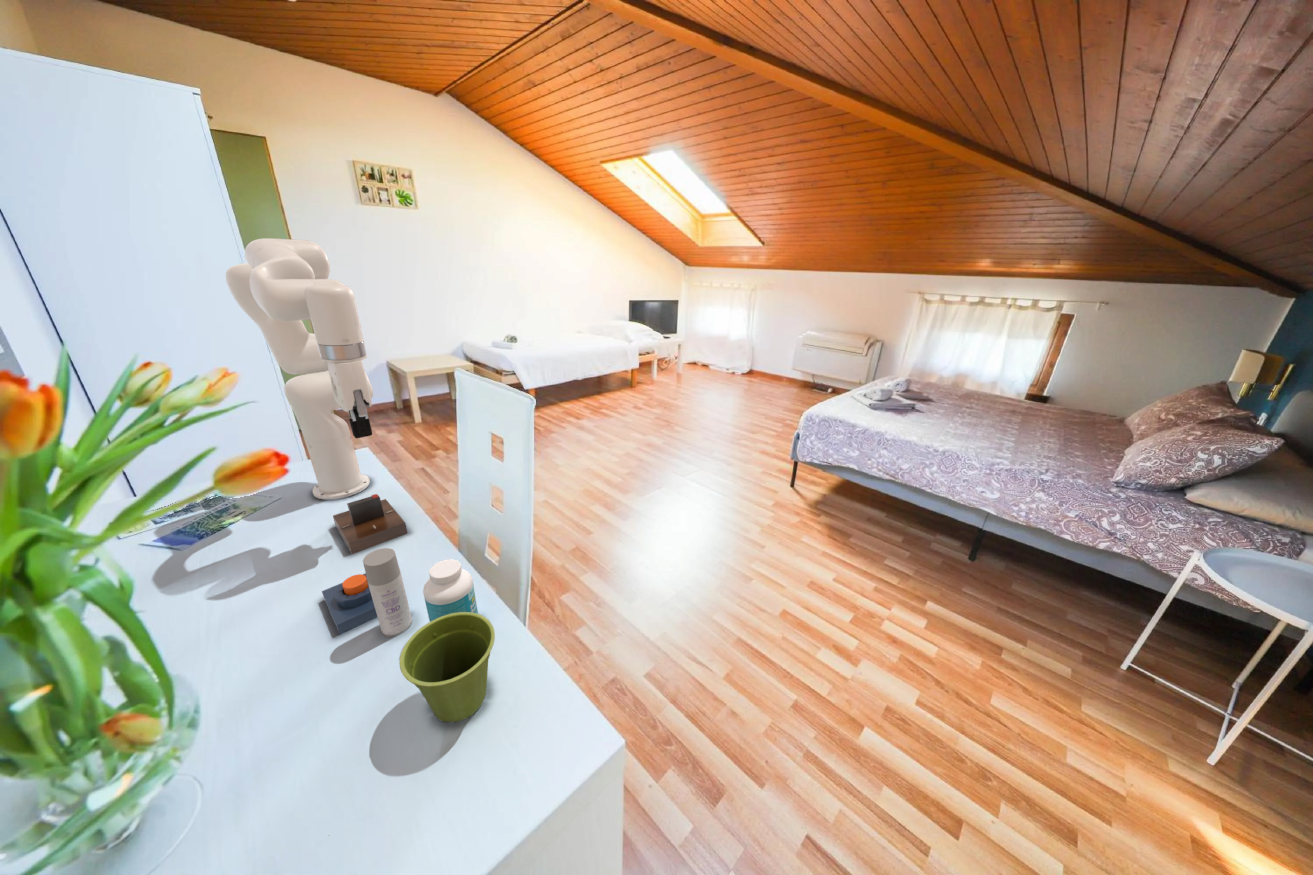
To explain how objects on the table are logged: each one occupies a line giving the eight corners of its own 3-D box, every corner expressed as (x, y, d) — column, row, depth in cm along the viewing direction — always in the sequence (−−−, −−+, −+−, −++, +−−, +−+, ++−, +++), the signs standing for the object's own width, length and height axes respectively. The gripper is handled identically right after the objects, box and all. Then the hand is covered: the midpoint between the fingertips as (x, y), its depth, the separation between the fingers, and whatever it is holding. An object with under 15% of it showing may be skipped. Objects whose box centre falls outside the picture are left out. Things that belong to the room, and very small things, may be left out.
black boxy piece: (354, 525, 96) (348, 505, 94) (352, 522, 97) (346, 502, 95) (384, 515, 100) (379, 496, 98) (382, 512, 101) (377, 493, 99)
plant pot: (395, 722, 60) (377, 665, 55) (458, 655, 70) (448, 602, 65) (462, 756, 56) (449, 698, 52) (519, 679, 66) (512, 626, 62)
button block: (324, 600, 79) (318, 583, 78) (379, 577, 85) (375, 561, 84) (339, 635, 72) (333, 617, 71) (398, 607, 79) (393, 590, 77)
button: (342, 588, 77) (339, 580, 77) (365, 578, 80) (363, 571, 79) (347, 598, 75) (345, 591, 75) (370, 588, 78) (368, 581, 77)
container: (393, 640, 72) (374, 569, 66) (375, 630, 74) (355, 560, 68) (418, 621, 76) (402, 552, 70) (400, 611, 78) (383, 544, 72)
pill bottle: (485, 633, 74) (476, 571, 69) (439, 655, 70) (425, 591, 64) (472, 607, 79) (462, 548, 74) (428, 626, 75) (414, 564, 70)
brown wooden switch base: (335, 526, 100) (332, 514, 99) (388, 509, 107) (385, 498, 106) (352, 554, 91) (348, 542, 90) (407, 533, 99) (405, 522, 97)
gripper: (311, 345, 86) (333, 428, 94) (328, 362, 77) (351, 453, 84) (355, 341, 91) (373, 421, 99) (376, 357, 82) (393, 443, 89)
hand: (363, 435), depth 91 cm, fingers closed
